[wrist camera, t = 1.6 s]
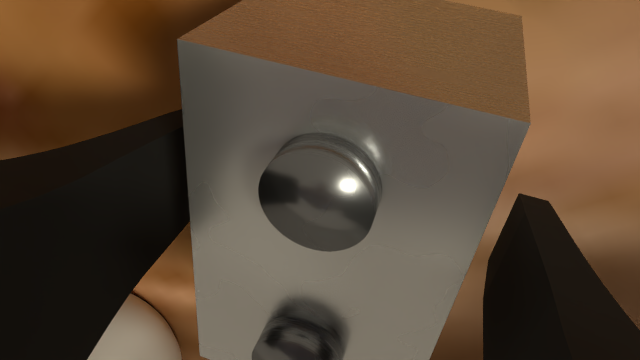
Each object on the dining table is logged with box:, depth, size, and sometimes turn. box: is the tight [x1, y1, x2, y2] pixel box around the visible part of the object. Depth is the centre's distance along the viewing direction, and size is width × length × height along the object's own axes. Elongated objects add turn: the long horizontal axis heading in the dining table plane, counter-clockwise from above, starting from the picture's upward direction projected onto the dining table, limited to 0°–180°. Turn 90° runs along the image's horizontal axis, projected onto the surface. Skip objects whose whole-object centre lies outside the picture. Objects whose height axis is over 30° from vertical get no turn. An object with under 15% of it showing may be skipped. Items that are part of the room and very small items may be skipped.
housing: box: [177, 0, 531, 360], centre depth 11 cm, size 5×8×6 cm, turn 173°
